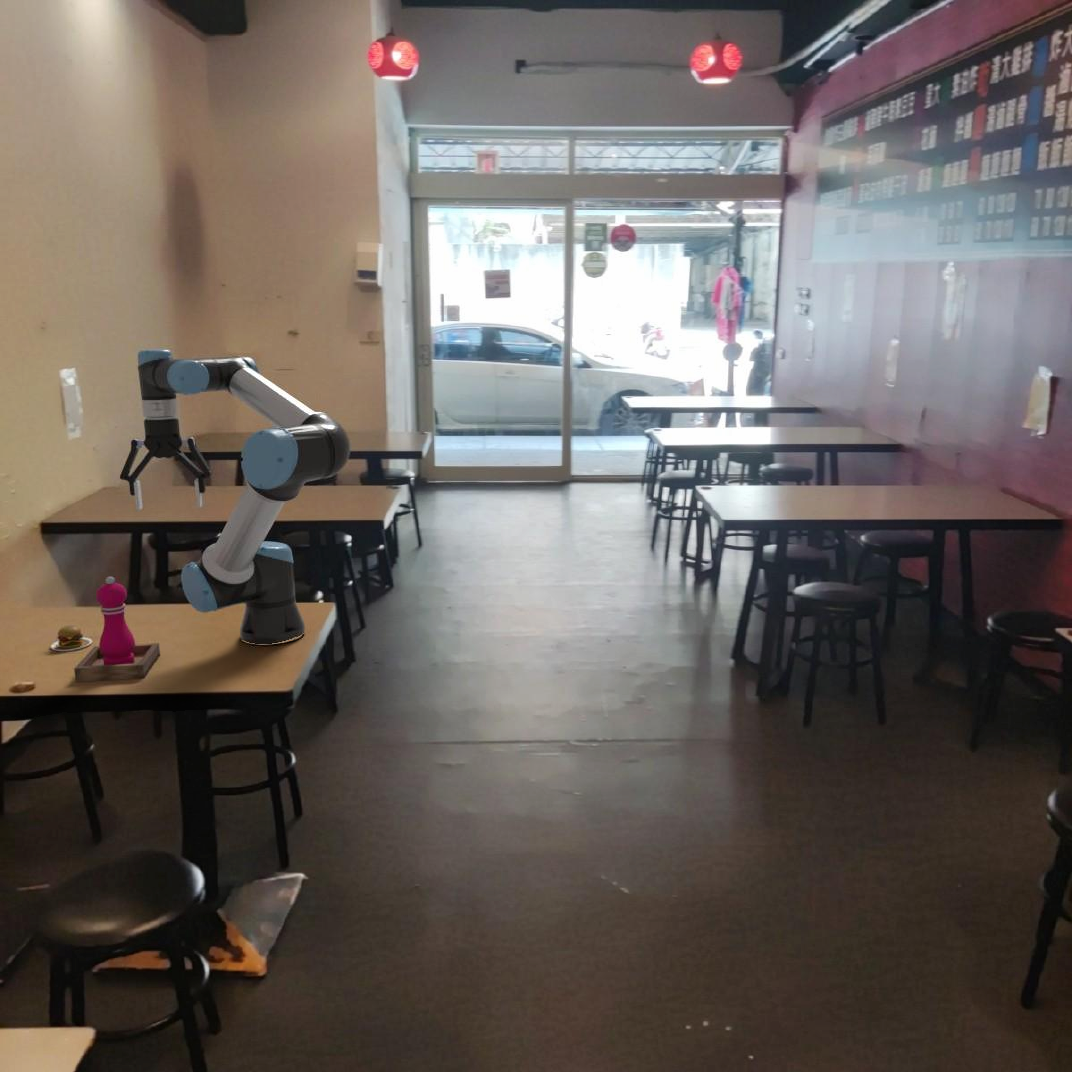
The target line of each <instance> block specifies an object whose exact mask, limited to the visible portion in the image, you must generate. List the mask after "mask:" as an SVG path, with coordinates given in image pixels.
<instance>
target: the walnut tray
mask: <svg viewBox="0 0 1072 1072" xmlns="http://www.w3.org/2000/svg"><path fill="white" fill-rule="evenodd" d="M131 653H133V654H134V660H135V662H134V663H133V664H115V665H104V661H103V658H104V657H105V655H104V654H103V653H102V652H101V651H100V648H99V645H97V646H96V645H95V646H93V647H92V649H91V650H89V652H88V653H87V654H86V655H85V656H84V657H83V658H82V659H81V660H80V662H79V663H78V664H77V665H76V666H75V667H74V668H73V670H74V676H75V677H74V678H75V682H76V683H81V682H96V681H97V682H99V681H114V680H115V681H116V680H132V679H133V680H135V679H145V678H146V677H147V675H148V674H149V672H150V671H151V669H152V668H153V667H154V665H155V664H156V662H157V661H158V660H159V658H160V657H161V651H160V642H157V643H156V642H155V643H154V642H153V643H135V647H134V649H133V650H132V651H131ZM159 656H160V657H159ZM158 657H159V658H158ZM154 663H155V664H154ZM152 666H153V667H152ZM149 670H150V671H149Z"/></svg>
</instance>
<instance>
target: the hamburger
mask: <svg viewBox="0 0 1072 1072" xmlns="http://www.w3.org/2000/svg"><path fill="white" fill-rule="evenodd" d="M56 639H58V641H57V640H56V642H53V643H52V644H51V645H50V649H52V650H53V651H58V652H70V651H78V650H81V649H84V648H86V647H88V646H89V645H91V644H93V639H91V638H89V637H84V633H83V632H82V630H81V628H80V627H78V626H76V625H65V626H63V627H61V628H60V629H59V630H58V632H57V637H56ZM83 641H84V642H87V644H86V645H85V646H81V645H82V644H83ZM56 645H57V646H58V645H59V648H60V649H56V647H57V646H56ZM61 648H62V649H61Z"/></svg>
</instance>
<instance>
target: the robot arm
mask: <svg viewBox="0 0 1072 1072" xmlns="http://www.w3.org/2000/svg"><path fill="white" fill-rule="evenodd" d="M137 371H138V379H139V386H140V387H139V388H140V396H141V407H142V414H143V415H142V416H143V417H144V418H145V419H144V420H143V425H144V436H145V438H144V439H139V438H134V439H132V440H131V441H130V451H129V453H128V456H127V458H126V461H125V463H124V465H123V468H122V470H121V473H120V475H119V478H120V480H122V481H123V480H124V481H126V482H127V483H128V484H129V493H130V496H134V498H135V499H134V501H135V507H136V508H135V509H136V511H140V510H142V509H143V507H144V506H143V499H142V489H141V486H142V485H141V481H140V480H137V479H138V477H139V476H140V475H141V473H142V472H143V471H144V470H145V468H146V467H147V466H148V464H149V463H150V462H151V461H152V459H154V458H157V459H162V458H166V459H172V458H173V457H174V458H176V459H177V460H178V461H180V463H181V464H183V466H184V467H185V468H186V469H187V470H188V471H189V472H190V473H191V474H192V475H193V476H195V478H196V479H194V489H195V499H196V500H195V501H196V508H198V509H199V508H200V509H201V508H202V506H203V499H202V494H205V492H206V490H207V489H206V479H207V478H209V477H211V476H212V475H213V471H212V469H211V467H210V466H209V464H208V463H207V461H206V459H205V458H204V456H203V454H202V453H201V451H200V449H198V447H197V443H196V439H195V438H194V436H191V437H189V438H182V436H181V433H180V432H181V431H180V423H179V422H180V421H179V419H178V417H177V416H179V409H178V402H177V401H178V400H177V394H182V395H185V396H188V395H198V394H201V393H209V392H211V393H212V392H223V391H226V392H228V393H229V394H231V395H232V396H233V397H235V398H236V399H237V400H238V401H240V402H241V403H243V404H244V405H246V406H247V407H248V408H250V409H251V410H253V411H254V412H256V413H257V414H258V415H260V416H261V417H262V418H263V419H265V420H266V421H268V422H269V423H270V424H272V425H273V426H274V427H268V428H266V429H262V430H258V431H256V432H253V434H251V435H250V436H249V437H248V438H247V439H246V440H245V442H244V444H243V447H242V451H241V454H240V456H241V458H242V461H240V464H241V469H242V473H243V476H244V478H245V479H244V480H245V481H246V485H245V486H244V489H243V490H242V493H241V495H240V496H239V498H238V501H236V503H235V506H234V509H233V510H232V512H231V514H230V516H229V517H228V520H227V522H226V524H225V526H224V528H223V530H222V531H221V534H220V536H219V537H218V540H217V541H216V542H215V543H212V544H211V545H209V546H207V547H206V548H205V550H204V551H203V553H202V555H201V557H200V559H198V561H195V562H194V561H191V562H190V563H187V564H185V565H184V566H183V568H182V570H181V575H180V576H181V577H180V578H181V586H182V590H183V592H184V595H185V597H186V599H187V601H188V602H189V604H190V606H192V607H193V609H195V610H196V612H197V611H198V612H199V613H204V614H205V613H210V612H217V611H219V610H222V609H226V608H230V607H232V606H236V605H240V604H244V603H245V609H244V613H243V617H242V619H241V620H242V621H241V625H240V629H239V633H240V640H241V639H242V640H244V641H246V642H249V643H255V644H272V643H278V642H282V641H286V640H289V639H292V638H294V637H298V636H300V635H302V634H303V633H304V631H305V632H306V626H305V622H304V619H303V617H302V615H301V612H300V610H299V607H298V605H297V603H296V600H297V599H296V589H295V588H296V587H295V576H294V575H295V574H294V572H295V571H294V563H295V561H294V557H293V552H292V548H291V546H289V545H288V544H286V543H283V542H278V541H267V540H266V541H265V539H266V537H267V535H268V533H269V531H270V530H271V528H272V527H273V525H274V523H275V521H276V519H277V518H278V515H279V514H280V512H281V510H282V509H283V506H284V505H285V503H288V502H292V501H293V500H294V499H296V498H297V497H298V495H299V493H300V491H302V489H303V486H304V485H305V484H306V483H307V482H313V481H317V480H323V479H328V478H331V477H333V476H335V475H337V474H338V473H339V472H341V471H342V470H343V469H344V467H345V466H346V464H347V463H348V460H349V458H350V454H351V443H350V438H349V435H348V434H347V431H346V430H345V429H344V427H343V426H342V425H341V424H340V423H339V422H338V421H337V420H335V419H334V418H333V417H331V416H330V415H329V414H327V413H325V412H322V411H321V412H320V411H318V412H317V411H314V410H313V409H311V408H309V407H308V406H307V405H306V404H304V403H302V402H301V401H300V400H298V399H297V398H295V397H293V396H292V395H291V394H289V393H288V392H287V391H285V390H284V389H282V388H280V387H279V386H277V385H276V384H275V383H273V382H272V381H270V380H269V379H267V378H266V377H265V376H263V375H262V374H260V371H259V367H258V365H257V364H256V362H255V360H254V359H253V358H251V357H248V356H239V355H238V356H235V355H234V356H228V357H226V356H225V357H210V358H209V357H207V358H206V357H205V358H185V359H183V358H182V359H174V356H173V353H172V351H171V350H169V349H143V350H139V351H138V353H137ZM183 445H184V446H185V447H186V448H188V450H189V452H190V453H191V455H192V456H193V458H194V459H195V461H196V463H197V464H198V466H199V468H198V467H197V466H196V464H194V462H192V461H191V460H190V459H189V458H188V457H187V456H186V455H185V453H184V452H183V451H182V450H181V447H182V446H183ZM143 446H144V447H145V449H146V450H148V452H147V453H146V455H145V456H144V457H143V459H142V460H141V461H140V463H139V464H138V466H137V467H136V468H135V469H134V471H133V472H132V473H131V474H130V472H131V469H132V467H133V465H134V463H135V460H136V457H137V456H138V453H139V451H140V450H141V449H142V448H143ZM200 469H201V470H200ZM242 640H241V641H242Z"/></svg>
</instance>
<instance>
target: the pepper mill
mask: <svg viewBox="0 0 1072 1072" xmlns="http://www.w3.org/2000/svg"><path fill="white" fill-rule="evenodd" d="M105 582H106V583H105V584H102V585H101V586H100V587H98V589H97V591H96V601H97V602H98V603H99V604H100V605H101V606H100V610H101V611H100V613H101V614H103V619H104V620H103V621H104V622H103V624H104V625H103V630H102V633H101V636H100V638H99V645H98V646H99V648H100V651H101V652H102V653H103V654H104V655H105V657H104V658H103V661H104V665H115V664H133V663H134V662H135V660H134V654H133V653H131V651H132V650H133V649H134V647H135V644H136V641H135V637H134V635H133V633H132V632H131V629H130V628H129V627H128V625H127V622H126V619H125V612H126V610H127V608H126V603H124V602H125V601H126V599H127V596H128V594H127V593H128V592H127V589H126V588H125V586H124V585H123V584H120V583H118V582H115V577H113V576H107V577H106V578H105Z"/></svg>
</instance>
